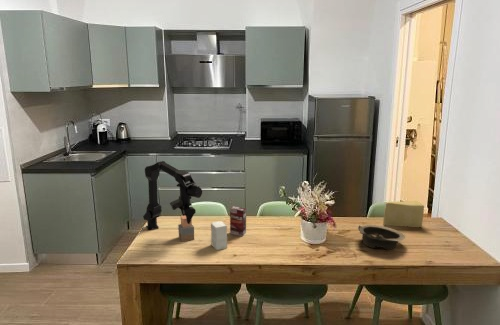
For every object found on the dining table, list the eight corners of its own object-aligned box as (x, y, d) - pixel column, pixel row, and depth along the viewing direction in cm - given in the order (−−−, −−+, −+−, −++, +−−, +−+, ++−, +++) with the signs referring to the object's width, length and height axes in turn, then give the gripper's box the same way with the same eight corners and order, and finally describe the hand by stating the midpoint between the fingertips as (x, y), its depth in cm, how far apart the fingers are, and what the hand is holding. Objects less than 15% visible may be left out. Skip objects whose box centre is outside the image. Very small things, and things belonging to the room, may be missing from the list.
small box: (227, 248, 206) (227, 225, 203) (216, 250, 204) (215, 227, 201) (221, 242, 214) (221, 220, 211) (211, 244, 211) (210, 222, 208)
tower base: (179, 237, 221) (178, 230, 220) (190, 235, 224) (190, 228, 223) (182, 242, 214) (182, 235, 214) (194, 239, 217) (194, 233, 216)
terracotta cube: (180, 224, 219) (180, 216, 218) (189, 223, 221) (189, 214, 220) (183, 227, 214) (182, 219, 213) (191, 226, 216) (191, 217, 215)
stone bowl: (355, 249, 203) (356, 233, 202) (359, 234, 227) (360, 219, 225) (405, 256, 195) (406, 239, 194) (404, 240, 218) (405, 224, 217)
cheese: (385, 227, 233) (387, 204, 229) (380, 221, 242) (382, 199, 239) (422, 228, 232) (425, 204, 228) (416, 222, 241) (418, 199, 238)
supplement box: (229, 234, 224) (229, 208, 221) (233, 231, 229) (232, 206, 225) (243, 236, 221) (243, 210, 217) (246, 233, 225) (246, 207, 222)
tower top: (178, 231, 219) (178, 224, 219) (190, 228, 223) (189, 222, 222) (182, 235, 213) (182, 228, 212) (194, 233, 217) (193, 226, 216)
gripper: (166, 192, 218) (168, 217, 222) (175, 201, 202) (176, 229, 205) (185, 189, 223) (187, 214, 226) (195, 198, 206) (196, 225, 210)
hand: (186, 220), depth 217 cm, fingers open, 9 cm apart
